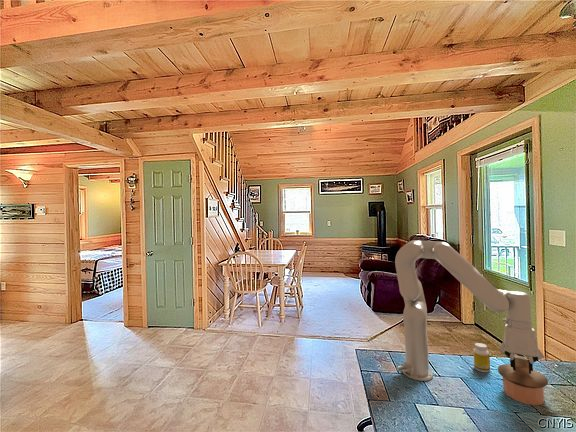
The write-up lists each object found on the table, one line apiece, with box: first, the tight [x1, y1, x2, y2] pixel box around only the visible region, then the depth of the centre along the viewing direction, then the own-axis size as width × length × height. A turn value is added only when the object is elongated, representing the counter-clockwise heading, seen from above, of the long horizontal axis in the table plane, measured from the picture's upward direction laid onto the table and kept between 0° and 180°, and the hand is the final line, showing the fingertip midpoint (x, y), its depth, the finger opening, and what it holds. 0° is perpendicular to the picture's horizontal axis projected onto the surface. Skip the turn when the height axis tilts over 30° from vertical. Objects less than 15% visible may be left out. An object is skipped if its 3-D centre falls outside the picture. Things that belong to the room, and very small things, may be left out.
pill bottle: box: [472, 342, 491, 373], centre depth 129 cm, size 6×6×11 cm
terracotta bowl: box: [502, 376, 545, 406], centre depth 109 cm, size 12×12×6 cm
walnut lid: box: [497, 354, 549, 387], centre depth 110 cm, size 15×15×7 cm
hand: (521, 370), depth 110 cm, fingers closed on walnut lid, 4 cm apart
